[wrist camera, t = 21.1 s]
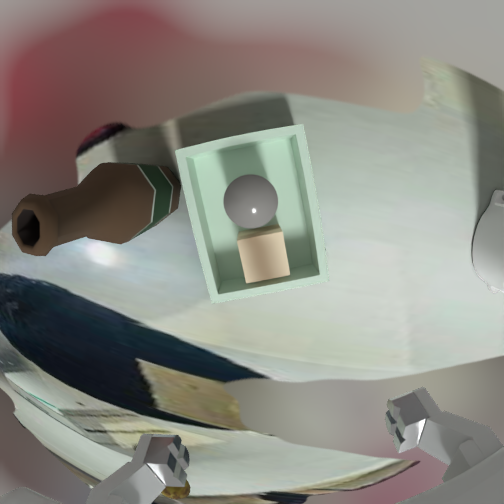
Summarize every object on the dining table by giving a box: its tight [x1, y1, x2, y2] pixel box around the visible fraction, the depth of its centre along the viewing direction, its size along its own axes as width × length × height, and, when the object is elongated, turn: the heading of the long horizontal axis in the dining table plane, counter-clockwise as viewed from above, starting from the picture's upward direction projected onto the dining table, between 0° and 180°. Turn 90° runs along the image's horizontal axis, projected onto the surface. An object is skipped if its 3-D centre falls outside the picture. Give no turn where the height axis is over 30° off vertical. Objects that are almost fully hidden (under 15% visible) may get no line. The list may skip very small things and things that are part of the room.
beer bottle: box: [12, 162, 181, 256], centre depth 24 cm, size 8×8×24 cm
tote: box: [175, 124, 329, 304], centre depth 34 cm, size 14×18×5 cm
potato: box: [161, 480, 190, 499], centre depth 47 cm, size 8×13×8 cm, turn 29°
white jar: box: [223, 174, 278, 228], centre depth 31 cm, size 5×5×8 cm
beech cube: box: [237, 224, 290, 283], centre depth 34 cm, size 5×5×5 cm
